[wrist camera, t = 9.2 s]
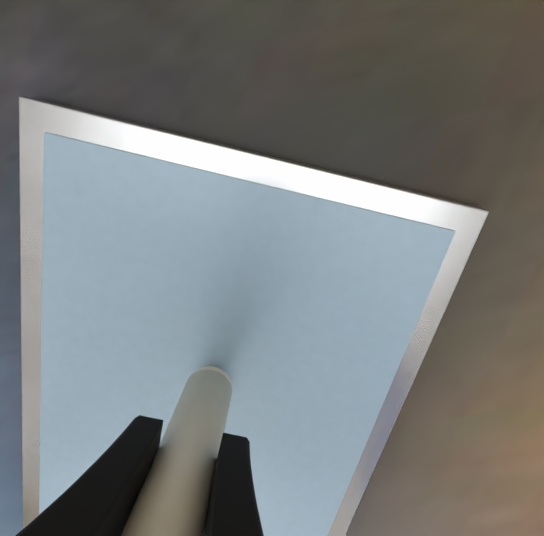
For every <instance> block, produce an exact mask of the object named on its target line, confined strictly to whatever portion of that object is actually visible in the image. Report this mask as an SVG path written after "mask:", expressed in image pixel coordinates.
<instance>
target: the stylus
mask: <svg viewBox="0 0 544 536" xmlns="http://www.w3.org/2000/svg"><path fill="white" fill-rule="evenodd" d="M231 397H232V384H231V381H230V378H229V377H228V375H227V374H226V373H225V372H224V371H223V370H221V369H220V368H217V367H214V366H206V367H202V368H199V369H197V370H196V371H195V372H193V373H192V374H191V375H190V377H189V378H188V380H187V382H186V384H185V387H184V389H183V391H182V394H181V396H180V398H179V401H178V403H177V405H176V408H175V410H174V412H173V415H172V417H171V419H170V422H169V424H168V426H167V429H166V431H165V433H164V436H163V438H162V440H161V443H160V445H159V449H158V451H157V453H156V456H155V458H154V460H153V463H152V465H151V467H150V470H149V472H148V475H147V477H146V479H145V481H144V483H143V486H142V488H141V490H140V492H139V494H138V497H137V499H136V501H135V503H134V506H133V508H132V510H131V513H130V515H129V518H128V520H127V522H126V525H125V527H124V529H123V532H122V534H121V536H203V533H204V528H205V523H206V517H207V510H208V503H209V495H210V489H211V484H212V480H213V475H214V470H215V465H216V460H217V456H218V452H219V447H220V443H221V439H222V435H223V433H224V431H225V426H226V421H227V416H228V411H229V406H230V401H231Z"/></svg>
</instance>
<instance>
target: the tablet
mask: <svg viewBox="0 0 544 536" xmlns="http://www.w3.org/2000/svg"><path fill="white" fill-rule="evenodd" d="M19 189H20V286H21V383H22V480H23V529H24V528H25V527H26V526H27V525H28V524H30V523H31V522H32V521H33V520H34V519H35V518H36V517H37V516H38V515H40V514H41V513H42V512H43V511H44V510H45V509H46V508H47V507H48V506H49V505H51V504H52V503H53V502H54V501H55V500H56V499H57V498H58V497H59V496H61V495H62V494H63V493H64V492H65V491H66V490H67V489H68V488H69V487H70V486H71V485H72V484H73V483H74V482H75V481H76V480H77V479H78V478H79V477H80V476H81V475H82V474H83V473H84V472H85V471H86V470H87V469H88V468H89V467H90V466H91V465H92V464H93V463H94V462H95V461H96V460H97V459H98V458H99V457H100V456H101V455H102V454H103V453H104V452H105V451H106V450H107V449H108V448H109V447H110V446H111V445H112V444H113V442H114V441H115V440H116V439H117V438H118V437H119V436H120V435H121V434H122V432H123V431H124V430H125V429H126V428H127V427H128V425H129V424H130V423H131V422H132V421H133V419H134V418H135V417H137V416H139V415H141V416H146V417H151V418H156V419H161V420H163V426H162V433H161V439H160V443H161V440H162V438H163V436H164V433H165V431H166V429H167V426H168V424H169V422H170V419H171V417H172V415H173V412H174V410H175V408H176V405H177V403H178V401H179V398H180V396H181V394H182V391H183V389H184V387H185V384H186V382H187V380H188V378H189V377H190V375H191V374H192V373H193V372H195V371H196V370H197V369H199V368H202V367H206V366H214V367H217V368H220V369H221V370H223V371H224V372H225V373H226V374H227V375H228V377H229V378H230V381H231V384H232V397H231V401H230V406H229V411H228V416H227V421H226V426H225V431H224V433H228V434H233V435H238V436H243V437H247V439H248V440H249V441H250V460H251V470H252V477H253V484H254V490H255V496H256V502H257V507H258V511H259V516H260V521H261V526H262V530H263V535H264V536H345V534H346V532H347V530H348V528H349V526H350V523H351V521H352V519H353V517H354V514H355V512H356V510H357V508H358V505H359V503H360V501H361V499H362V496H363V494H364V492H365V490H366V487H367V485H368V483H369V481H370V478H371V476H372V474H373V472H374V470H375V467H376V465H377V463H378V461H379V458H380V456H381V454H382V452H383V449H384V447H385V445H386V443H387V440H388V438H389V436H390V434H391V431H392V429H393V427H394V425H395V422H396V420H397V418H398V416H399V414H400V411H401V409H402V407H403V405H404V402H405V400H406V398H407V396H408V393H409V391H410V389H411V387H412V384H413V382H414V380H415V378H416V375H417V373H418V371H419V369H420V366H421V364H422V362H423V360H424V358H425V355H426V353H427V351H428V349H429V346H430V344H431V342H432V340H433V337H434V335H435V333H436V331H437V328H438V326H439V324H440V322H441V319H442V317H443V315H444V313H445V311H446V308H447V306H448V304H449V302H450V299H451V297H452V295H453V293H454V290H455V288H456V286H457V284H458V281H459V279H460V277H461V275H462V272H463V270H464V268H465V266H466V263H467V261H468V259H469V257H470V255H471V252H472V250H473V248H474V246H475V243H476V241H477V239H478V237H479V234H480V232H481V230H482V228H483V225H484V223H485V221H486V219H487V216H488V214H489V211H488V210H486V209H483V208H481V207H478V206H474V205H470V204H466V203H462V202H458V201H454V200H449V199H445V198H441V197H437V196H433V195H429V194H425V193H421V192H417V191H413V190H409V189H404V188H400V187H396V186H392V185H388V184H384V183H380V182H376V181H372V180H368V179H364V178H359V177H355V176H351V175H347V174H343V173H339V172H335V171H331V170H327V169H323V168H319V167H315V166H310V165H306V164H302V163H298V162H294V161H290V160H286V159H282V158H278V157H274V156H270V155H265V154H261V153H257V152H253V151H249V150H245V149H241V148H237V147H233V146H229V145H225V144H221V143H216V142H212V141H208V140H204V139H200V138H196V137H192V136H188V135H184V134H180V133H176V132H171V131H167V130H163V129H159V128H155V127H151V126H147V125H143V124H139V123H135V122H131V121H126V120H122V119H118V118H114V117H110V116H106V115H102V114H98V113H94V112H90V111H86V110H82V109H77V108H73V107H69V106H65V105H61V104H57V103H53V102H49V101H45V100H41V99H37V98H31V97H22V96H20V97H19Z"/></svg>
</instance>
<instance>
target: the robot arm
mask: <svg viewBox="0 0 544 536" xmlns="http://www.w3.org/2000/svg"><path fill="white" fill-rule="evenodd" d="M162 426H163V420H161V419H156V418H151V417H146V416H141V415H139V416H137V417H135V418H134V419H133V421H132V422H131V423H130V424H129V425H128V427H127V428H126V429H125V430H124V431H123V432H122V434H121V435H120V436H119V437H118V438H117V439H116V440H115V441H114V442H113V444H112V445H111V446H110V447H109V448H108V449H107V450H106V451H105V452H104V453H103V454H102V455H101V456H100V457H99V458H98V459H97V460H96V461H95V462H94V463H93V464H92V465H91V466H90V467H89V468H88V469H87V470H86V471H85V472H84V473H83V474H82V475H81V476H80V477H79V478H78V479H77V480H76V481H75V482H74V483H73V484H72V485H71V486H70V487H69V488H68V489H67V490H66V491H65V492H64V493H63V494H62V495H61V496H59V497H58V498H57V499H56V500H55V501H54V502H53V503H52V504H51V505H49V506H48V507H47V508H46V509H45V510H44V511H43V512H42V513H41V514H40V515H38V516H37V517H36V518H35V519H34V520H33V521H32V522H31V523H30V524H28V525H27V526H26V527H25V528H24V529H23V530H21V531H20V532H19V533H18V534H17V535H16V536H121V534H122V532H123V529H124V527H125V525H126V522H127V520H128V518H129V515H130V513H131V510H132V508H133V506H134V503H135V501H136V499H137V497H138V494H139V492H140V490H141V488H142V486H143V483H144V481H145V479H146V477H147V475H148V472H149V470H150V467H151V465H152V463H153V460H154V458H155V456H156V453H157V451H158V449H159V445H160V439H161V433H162ZM203 536H264V535H263V530H262V526H261V521H260V516H259V511H258V507H257V502H256V496H255V490H254V484H253V477H252V470H251V460H250V441H249V440H248V439H247V437H243V436H238V435H233V434H228V433H223V435H222V439H221V443H220V447H219V452H218V456H217V460H216V465H215V470H214V475H213V480H212V484H211V489H210V495H209V503H208V510H207V517H206V523H205V528H204V533H203Z"/></svg>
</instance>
